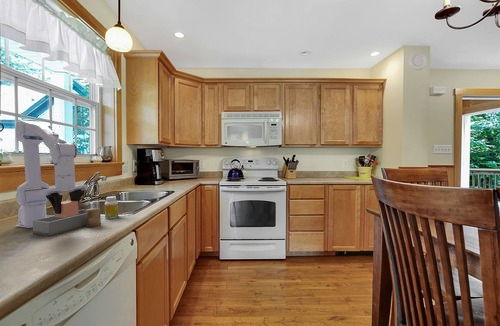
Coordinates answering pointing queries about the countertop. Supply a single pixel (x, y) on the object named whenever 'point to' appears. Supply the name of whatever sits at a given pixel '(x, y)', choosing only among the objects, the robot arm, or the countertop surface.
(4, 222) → the countertop surface
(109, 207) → the supplement bottle
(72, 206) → the cube
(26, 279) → the countertop surface
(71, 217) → the box
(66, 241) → the countertop surface
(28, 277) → the countertop surface
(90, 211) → the cylinder
